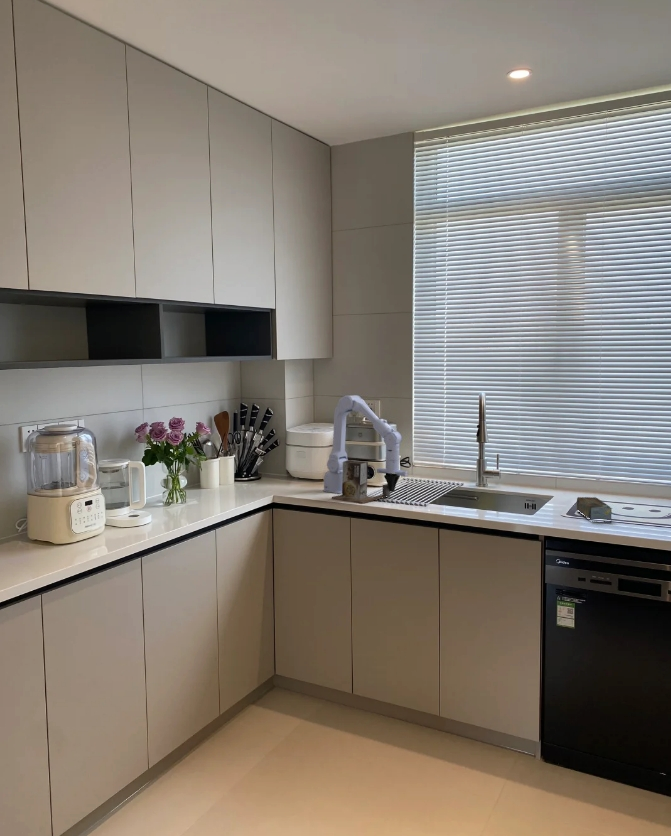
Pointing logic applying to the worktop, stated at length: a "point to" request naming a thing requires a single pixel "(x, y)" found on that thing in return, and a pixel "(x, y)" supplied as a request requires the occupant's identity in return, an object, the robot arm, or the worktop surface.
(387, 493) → the brown board with post
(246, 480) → the worktop surface
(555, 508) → the worktop surface
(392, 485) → the robot arm
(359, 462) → the coffee box
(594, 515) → the beverage carton
